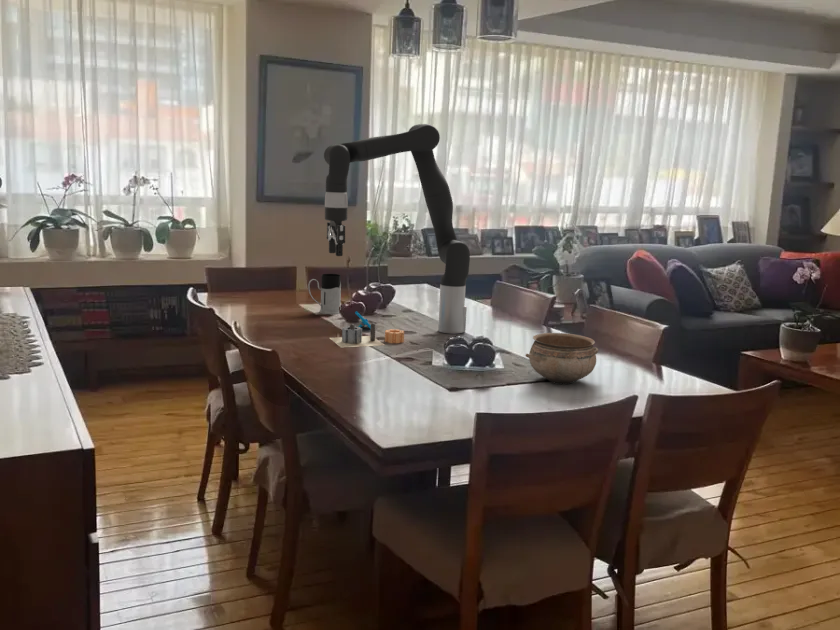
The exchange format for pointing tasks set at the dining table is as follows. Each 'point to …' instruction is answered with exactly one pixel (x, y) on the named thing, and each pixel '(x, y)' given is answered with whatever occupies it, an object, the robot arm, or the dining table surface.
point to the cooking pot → (562, 356)
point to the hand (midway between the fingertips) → (335, 254)
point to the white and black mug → (329, 293)
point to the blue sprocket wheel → (363, 321)
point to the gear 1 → (352, 335)
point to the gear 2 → (394, 336)
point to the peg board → (365, 339)
